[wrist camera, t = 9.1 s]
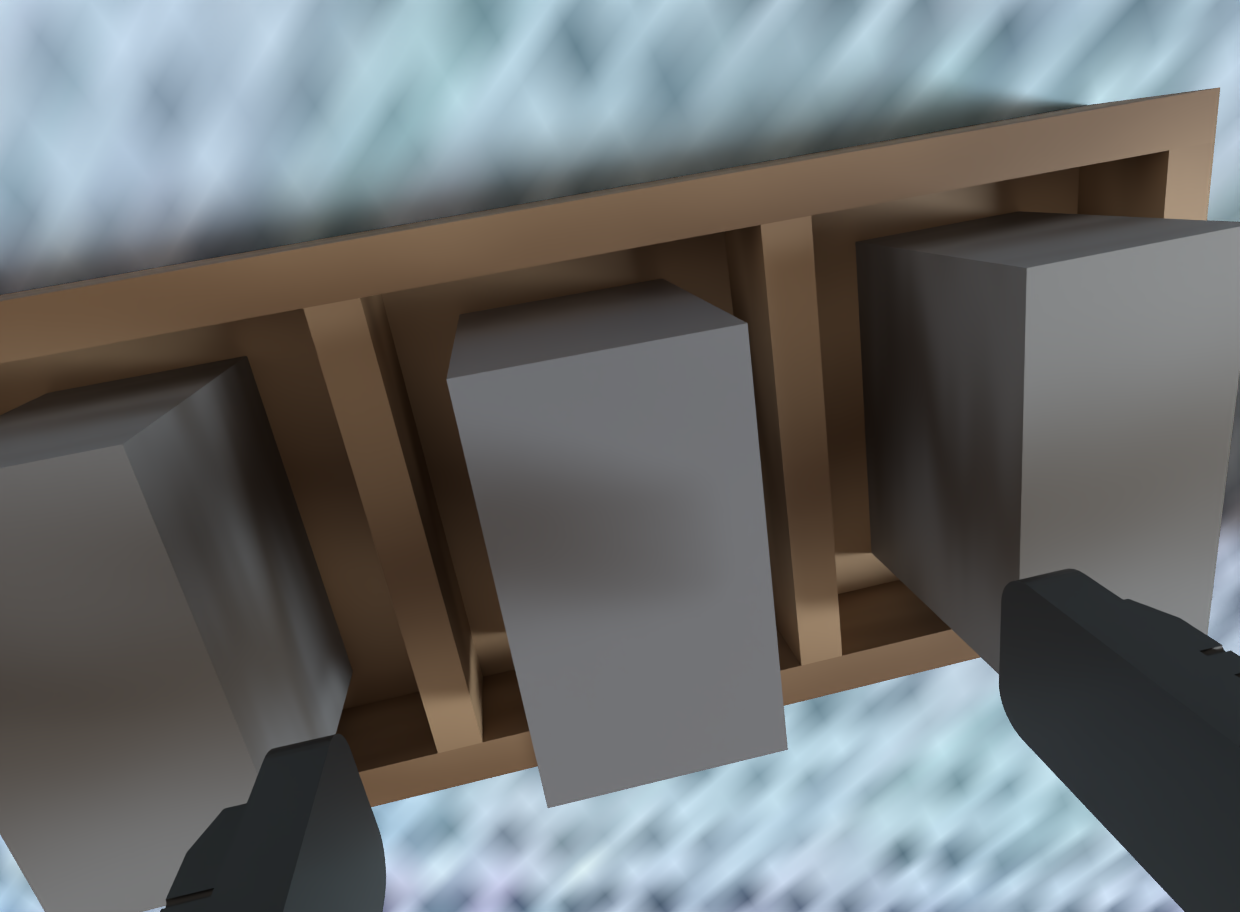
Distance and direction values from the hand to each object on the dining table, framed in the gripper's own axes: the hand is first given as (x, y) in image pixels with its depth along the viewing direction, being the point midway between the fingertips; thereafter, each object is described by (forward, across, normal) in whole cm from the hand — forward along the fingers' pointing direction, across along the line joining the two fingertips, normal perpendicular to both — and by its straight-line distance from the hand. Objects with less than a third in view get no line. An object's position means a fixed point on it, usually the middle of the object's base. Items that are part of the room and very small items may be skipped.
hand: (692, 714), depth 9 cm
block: (+10, 0, 0) cm, 10 cm away
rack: (+11, 0, 0) cm, 11 cm away
